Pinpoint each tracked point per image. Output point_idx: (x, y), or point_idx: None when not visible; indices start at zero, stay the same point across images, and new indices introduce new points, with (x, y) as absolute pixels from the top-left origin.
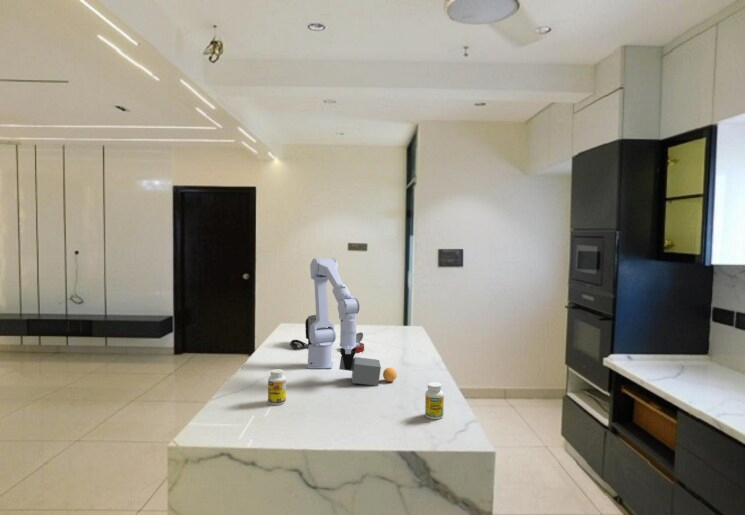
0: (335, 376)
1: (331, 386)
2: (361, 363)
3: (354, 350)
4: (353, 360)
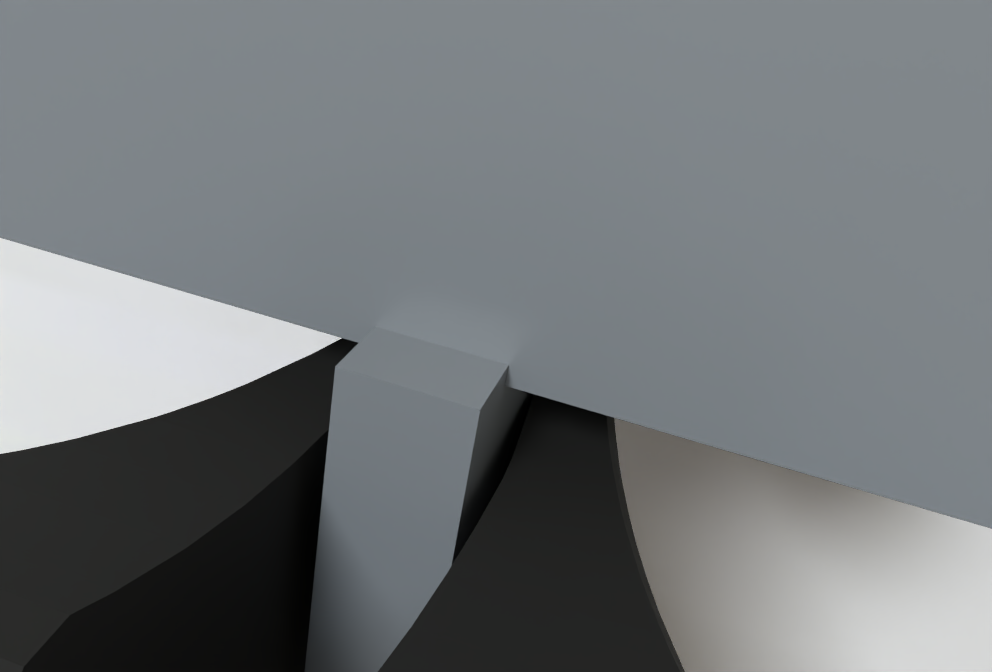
0: (251, 349)
1: (786, 556)
2: (915, 168)
3: (98, 636)
4: (496, 423)
